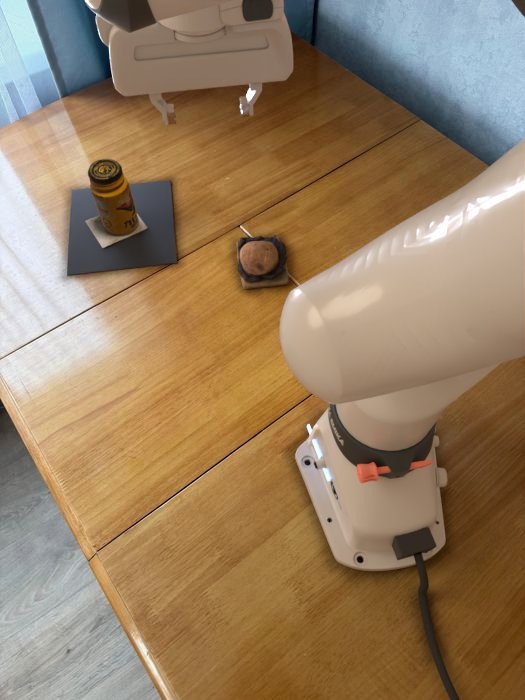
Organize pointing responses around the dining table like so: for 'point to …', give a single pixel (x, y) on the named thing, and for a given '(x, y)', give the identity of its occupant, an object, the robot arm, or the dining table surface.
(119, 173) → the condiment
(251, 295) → the dining table surface
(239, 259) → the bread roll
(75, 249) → the placemat
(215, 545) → the dining table surface
